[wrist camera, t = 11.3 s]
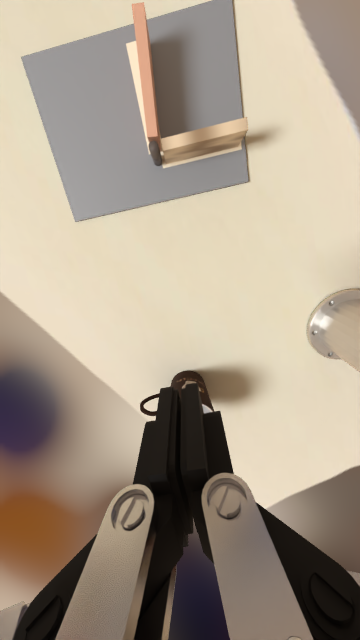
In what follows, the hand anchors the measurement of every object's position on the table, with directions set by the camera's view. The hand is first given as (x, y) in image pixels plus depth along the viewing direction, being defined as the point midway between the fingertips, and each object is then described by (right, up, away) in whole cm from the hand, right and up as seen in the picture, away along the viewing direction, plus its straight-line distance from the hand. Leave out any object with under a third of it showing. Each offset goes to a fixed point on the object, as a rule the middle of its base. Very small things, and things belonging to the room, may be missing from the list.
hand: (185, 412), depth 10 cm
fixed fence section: (+3, +27, +21) cm, 35 cm away
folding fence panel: (-4, +32, +19) cm, 37 cm away
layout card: (-5, +30, +20) cm, 37 cm away
